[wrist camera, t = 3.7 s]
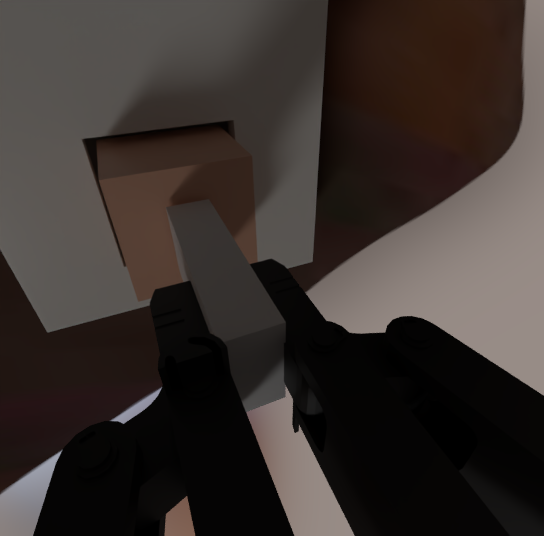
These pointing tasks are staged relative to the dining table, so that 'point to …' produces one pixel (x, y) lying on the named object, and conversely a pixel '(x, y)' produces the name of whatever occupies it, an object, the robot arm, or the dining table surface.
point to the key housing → (147, 127)
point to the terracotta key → (173, 195)
